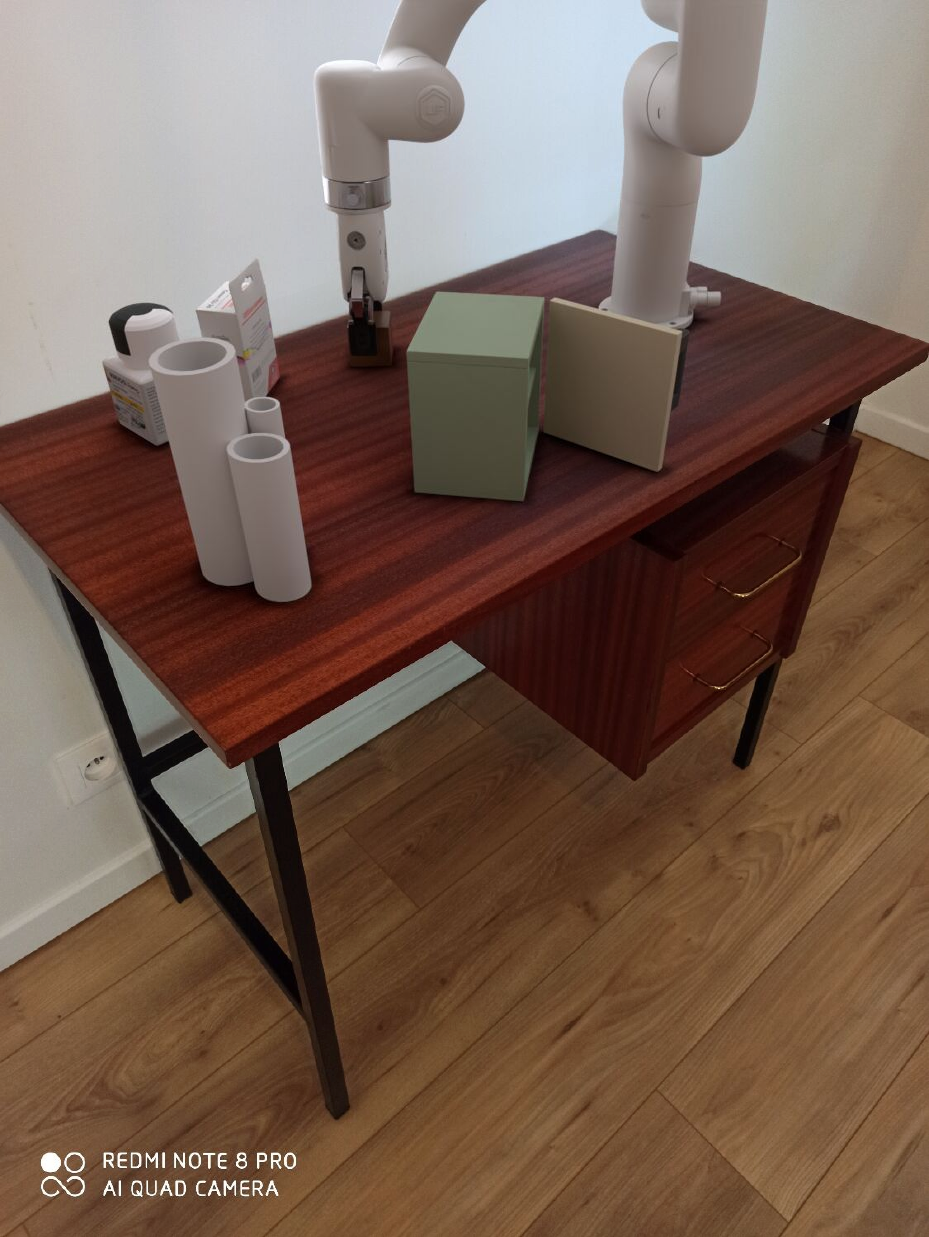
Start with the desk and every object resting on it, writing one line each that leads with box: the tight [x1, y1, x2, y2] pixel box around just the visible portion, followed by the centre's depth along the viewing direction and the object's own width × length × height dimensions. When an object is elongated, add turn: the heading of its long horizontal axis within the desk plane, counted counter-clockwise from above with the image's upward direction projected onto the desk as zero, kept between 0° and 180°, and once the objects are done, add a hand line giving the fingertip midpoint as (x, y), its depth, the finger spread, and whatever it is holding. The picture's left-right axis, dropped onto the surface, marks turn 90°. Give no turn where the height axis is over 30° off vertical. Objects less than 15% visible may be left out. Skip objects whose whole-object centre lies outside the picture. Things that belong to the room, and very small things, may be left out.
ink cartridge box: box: [195, 257, 281, 402], centre depth 103 cm, size 9×5×15 cm, turn 168°
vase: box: [149, 337, 312, 603], centre depth 76 cm, size 11×7×20 cm, turn 67°
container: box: [101, 302, 180, 446], centre depth 98 cm, size 8×8×13 cm
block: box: [346, 310, 394, 368], centre depth 113 cm, size 5×5×5 cm
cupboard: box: [406, 291, 546, 502], centre depth 91 cm, size 11×14×15 cm
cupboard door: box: [542, 297, 691, 473], centre depth 94 cm, size 7×14×15 cm, turn 53°
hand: (367, 337), depth 113 cm, fingers open, 9 cm apart
